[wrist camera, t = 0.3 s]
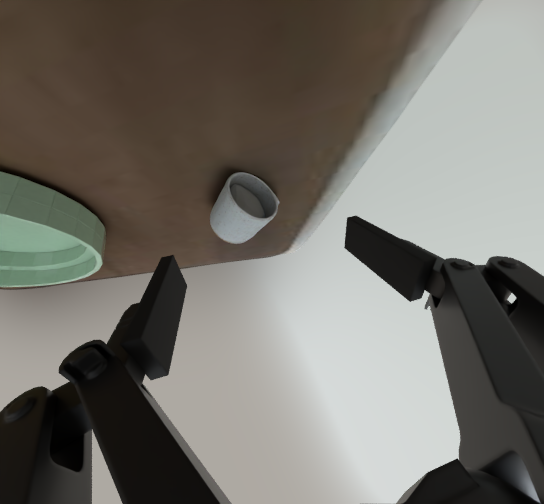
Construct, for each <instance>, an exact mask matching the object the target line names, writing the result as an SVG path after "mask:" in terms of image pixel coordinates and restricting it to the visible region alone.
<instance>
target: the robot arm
mask: <svg viewBox="0 0 544 504" xmlns="http://www.w3.org/2000/svg"><path fill="white" fill-rule="evenodd" d="M345 249H347V250H348V251H349V252H350V253H351V254H353V255H354V256H355V257H356V258H357V259H359V260H360V261H361V262H362V263H364V264H365V265H366V266H367V267H369V268H370V269H371V270H372V271H373V272H375V273H376V274H377V275H378V276H379V277H381V278H382V279H383V280H384V281H385V282H387V283H388V284H389V285H390V286H392V287H393V288H394V289H395V290H396V291H398V292H399V293H400V294H401V295H403V296H404V297H405V298H406V299H407V300H409V301H410V302H411V301H414V300H417V299H420V298H422V295H423V293H424V290H426V291H427V292H429V293H430V295H429V297H428V300H427V302H426V305H425V309H427V308H428V306H430V307H431V309H430V310H431V312H432V316H433V320H434V324H435V329H436V333H437V337H438V341H439V345H440V350H441V354H442V358H443V362H444V367H445V371H446V375H447V379H448V383H449V388H450V392H451V396H452V400H453V405H454V409H455V413H456V417H457V421H458V426H459V430H460V439H461V441H460V446H459V460H458V459H456V460H453V461H451V462H449V463H447V464H445V465H443V466H440V467H438V468H436V469H434V470H432V471H430V472H428V473H427V474H425V475H424V476H423V477H422V478H421V479H420V480H418V481H417V482H416V483H415V484H414V485H413V486H412V487H410V488H409V489H408V490H407V491H406V492H405V493H404V494H403V495H402V497H401V498H400V499H399V501H398V502H397V503H396V504H544V276H542V275H541V274H539V273H538V272H536V271H535V270H533V269H532V268H530V267H529V266H527V265H526V264H524V263H522V262H520V261H518V260H515V259H513V258H508V257H500V256H496V257H491V258H489V260H488V262H487V263H486V265H474V264H472V263H471V262H468V261H465V260H462V259H457V258H449V259H446V260H444V259H443V258H441V257H439V256H437V255H435V254H433V253H431V252H429V251H427V250H425V249H422V248H421V247H419V246H416V245H415V244H413V243H411V242H409V241H406V240H403V239H400V238H398V237H396V236H394V235H392V234H390V233H388V232H386V231H384V230H382V229H380V228H379V227H377V226H374V225H373V224H371V223H369V222H367V221H365V220H363V219H361V218H359V217H357V216H353V217H348V218H347V227H346V237H345ZM186 289H187V284H186V282H185V280H184V278H183V275H182V273H181V271H180V269H179V267H178V264H177V262H176V260H175V258H174V255H171V256H166V257H162V258H161V260H160V262H159V264H158V266H157V268H156V270H155V272H154V274H153V276H152V278H151V280H150V282H149V284H148V286H147V289H146V291H145V293H144V295H143V297H142V299H141V301H140V303H136V304H132V305H131V306H130V307H129V308H128V309H127V310H126V311H125V312H124V314H123V315H122V317H121V319H120V322H119V323H118V324H117V326H116V329H115V330H114V332H113V334H112V335H111V337H110V339H109V341H108V343H107V344H105V343H104V342H103V341H101V340H93V341H90V342H87V343H85V344H83V345H81V346H79V347H78V348H76V349H75V350H74V351H72V352H71V353H70V354H69V355H68V356H67V357H66V358H65V359H64V360H63V362H62V363H61V365H60V367H59V373H60V374H61V375H62V376H64V377H65V378H66V379H68V380H69V381H70V382H68V383H66V384H64V385H62V386H61V387H59V388H57V389H55V390H53V391H50V390H48V389H47V388H45V387H42V386H41V387H36V388H33V389H31V390H28V391H26V392H24V393H23V394H21V395H20V396H18V397H17V398H15V399H14V400H13V401H11V402H10V403H9V404H8V405H7V406H6V407H4V409H3V410H2V411H1V412H0V504H92V429H93V432H94V434H95V437H96V439H97V441H98V444H99V447H100V449H101V451H102V454H103V456H104V459H105V461H106V464H107V466H108V469H109V471H110V473H111V476H112V479H113V481H114V483H115V486H116V488H117V491H118V493H119V496H120V498H121V501H122V503H123V504H231V502H230V501H229V500H228V498H227V497H226V496H225V494H224V493H223V492H222V490H221V489H220V487H219V486H218V485H217V483H216V482H215V481H214V479H213V478H212V477H211V475H210V474H209V473H208V471H207V470H206V468H205V467H204V466H203V464H202V463H201V462H200V460H199V459H198V458H197V456H196V455H195V454H194V452H193V451H192V450H191V448H190V447H189V445H188V444H187V443H186V441H185V440H184V439H183V437H182V436H181V434H180V433H179V432H178V431H177V429H176V428H175V426H174V425H173V424H172V422H171V421H170V420H169V418H168V417H167V415H166V414H165V413H164V411H163V410H162V409H161V407H160V406H159V405H158V403H157V402H156V400H155V399H154V398H153V396H152V395H151V394H150V392H149V391H148V390H147V388H146V387H145V386H144V385H143V384H142V382H143V379H144V376H145V374H146V375H147V376H148V377H149V379H150V380H154V379H156V378H160V377H163V376H167V375H168V374H169V369H170V364H171V360H172V355H173V350H174V345H175V341H176V336H177V331H178V327H179V322H180V317H181V312H182V307H183V303H184V298H185V293H186ZM511 293H513V294H514V295H515V296H516V297H517V298H516V300H515V301H514V302H513V303H512V304H511V303H510V302H509V301H508V300H507V299H508V297H509V296H510V294H511Z"/></svg>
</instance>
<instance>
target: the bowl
mask: <svg viewBox="0 0 544 504" xmlns="http://www.w3.org/2000/svg"><path fill="white" fill-rule="evenodd" d="M105 242H106V232H105V227H104V225H103V224H102V223H101V221H100V220H99V219H98V217H97V216H95V215H94V214H93V213H92V212H90V211H89V210H88V209H86V208H85V207H84V206H82V205H81V204H79V203H77V202H76V201H74V200H72V199H70V198H68V197H66V196H64V195H62V194H61V193H59V192H57V191H55V190H52V189H50V188H47V187H44V186H42V185H39V184H37V183H34V182H32V181H29V180H26V179H24V178H20V177H18V176H15V175H11V174H8V173H4V172H0V287H26V286H42V285H51V284H59V283H64V282H70V281H75V280H78V279H81V278H84V277H87V276H90V275H91V274H93V273H95V272H96V271H98V270H99V269H100V267H101V265H102V264H103V257H104V249H105Z"/></svg>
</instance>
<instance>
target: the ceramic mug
mask: <svg viewBox="0 0 544 504" xmlns="http://www.w3.org/2000/svg"><path fill="white" fill-rule="evenodd" d="M278 204H279V200H278V198H277V197H276V195H275V194H274V193H273V192H272V191H271V189H270V188H269V187H268V186H267V185H266V184H265V183H264V182H263V181H262V180H260V179H259V178H257V177H256V176H253V175H251V174H248V173H244V172H238V173H234V174H232V175H231V176H230V177H229V178H228V180H227V181H226V184H225V186H224V187H223V189H222V191H221V193H220V195H219V197H218V199H217V201H216V203H215V204H214V206H213V209H212V211H211V215H210V224H211V227H212V229H213V231H214V232H215V234H216V235H217V236H218V237H219V238H221V239H222V240H224V241H226V242H229V243H232V244H239V243H243V242H245V241H247V240H249V239H250V238H251V237H253V236H254V235H255V234H256V233H257V232H258V231H259V230H260V229H261V228H262V227H264V226H265V225H266V224H267V223H268V222H269V221H271V220H272V219H273V218H274V216H275V215H276V213H277V209H278Z"/></svg>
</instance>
